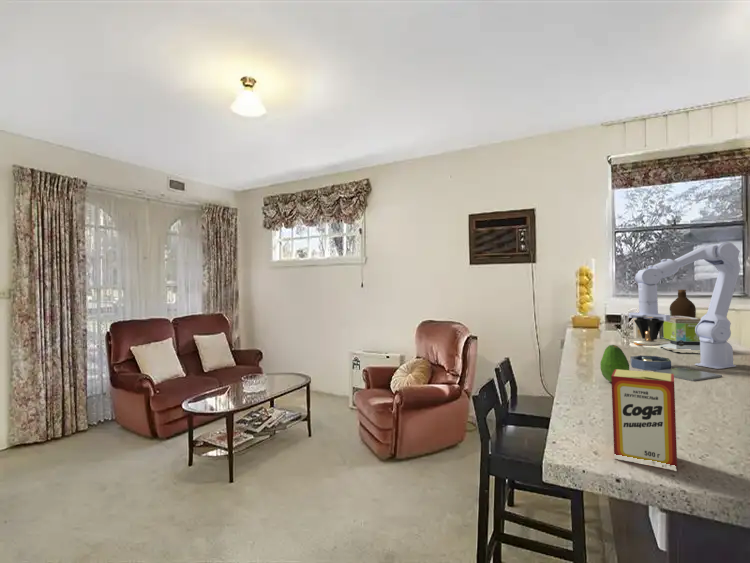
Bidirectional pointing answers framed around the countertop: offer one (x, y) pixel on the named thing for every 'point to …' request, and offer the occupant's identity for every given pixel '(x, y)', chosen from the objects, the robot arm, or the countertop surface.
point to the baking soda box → (644, 415)
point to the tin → (650, 362)
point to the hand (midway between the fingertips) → (649, 339)
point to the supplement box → (637, 330)
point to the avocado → (613, 361)
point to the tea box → (680, 333)
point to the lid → (649, 340)
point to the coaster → (689, 374)
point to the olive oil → (682, 306)
